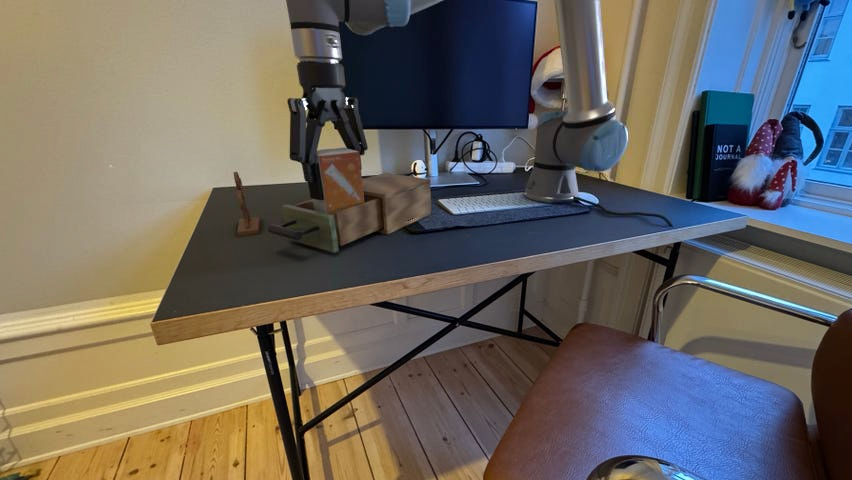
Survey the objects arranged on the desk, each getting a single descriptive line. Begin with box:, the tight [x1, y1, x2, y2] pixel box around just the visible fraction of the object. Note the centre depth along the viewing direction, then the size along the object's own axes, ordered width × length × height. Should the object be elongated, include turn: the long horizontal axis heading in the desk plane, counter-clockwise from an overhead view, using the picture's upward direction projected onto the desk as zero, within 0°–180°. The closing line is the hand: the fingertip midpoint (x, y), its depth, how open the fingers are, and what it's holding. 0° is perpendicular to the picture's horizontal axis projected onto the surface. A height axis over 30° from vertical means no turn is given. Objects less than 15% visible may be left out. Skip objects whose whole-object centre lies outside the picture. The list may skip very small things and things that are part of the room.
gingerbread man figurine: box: [233, 171, 261, 237], centre depth 77 cm, size 9×4×12 cm, turn 26°
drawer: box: [267, 195, 384, 254], centre depth 71 cm, size 21×12×7 cm, turn 151°
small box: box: [311, 147, 364, 221], centre depth 71 cm, size 8×6×13 cm
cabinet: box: [362, 172, 432, 235], centre depth 85 cm, size 17×14×9 cm
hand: (337, 193), depth 72 cm, fingers closed on small box, 9 cm apart
